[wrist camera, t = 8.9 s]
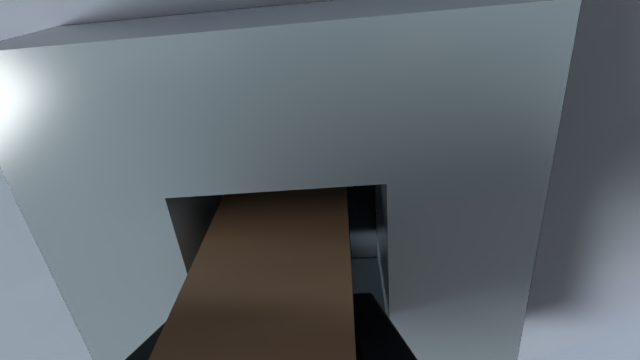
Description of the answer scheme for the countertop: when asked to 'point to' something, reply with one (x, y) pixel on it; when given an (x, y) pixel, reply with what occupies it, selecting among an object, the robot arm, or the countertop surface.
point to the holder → (294, 151)
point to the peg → (268, 282)
